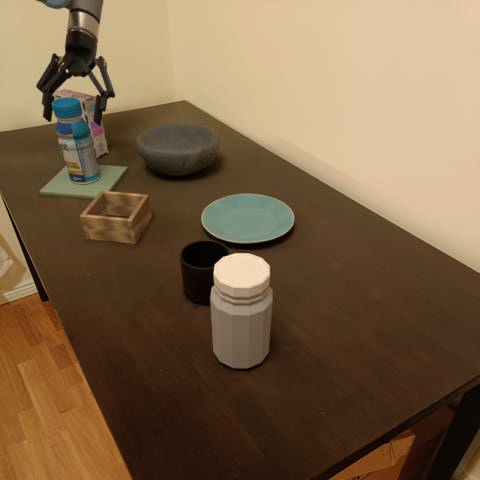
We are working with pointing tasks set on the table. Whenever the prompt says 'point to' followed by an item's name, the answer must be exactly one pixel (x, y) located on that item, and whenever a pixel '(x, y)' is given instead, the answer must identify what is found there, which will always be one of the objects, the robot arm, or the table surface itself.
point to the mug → (200, 268)
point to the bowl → (178, 147)
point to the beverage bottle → (75, 141)
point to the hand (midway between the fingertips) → (71, 121)
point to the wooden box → (113, 227)
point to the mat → (66, 187)
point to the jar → (241, 310)
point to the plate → (247, 218)
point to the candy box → (88, 119)
